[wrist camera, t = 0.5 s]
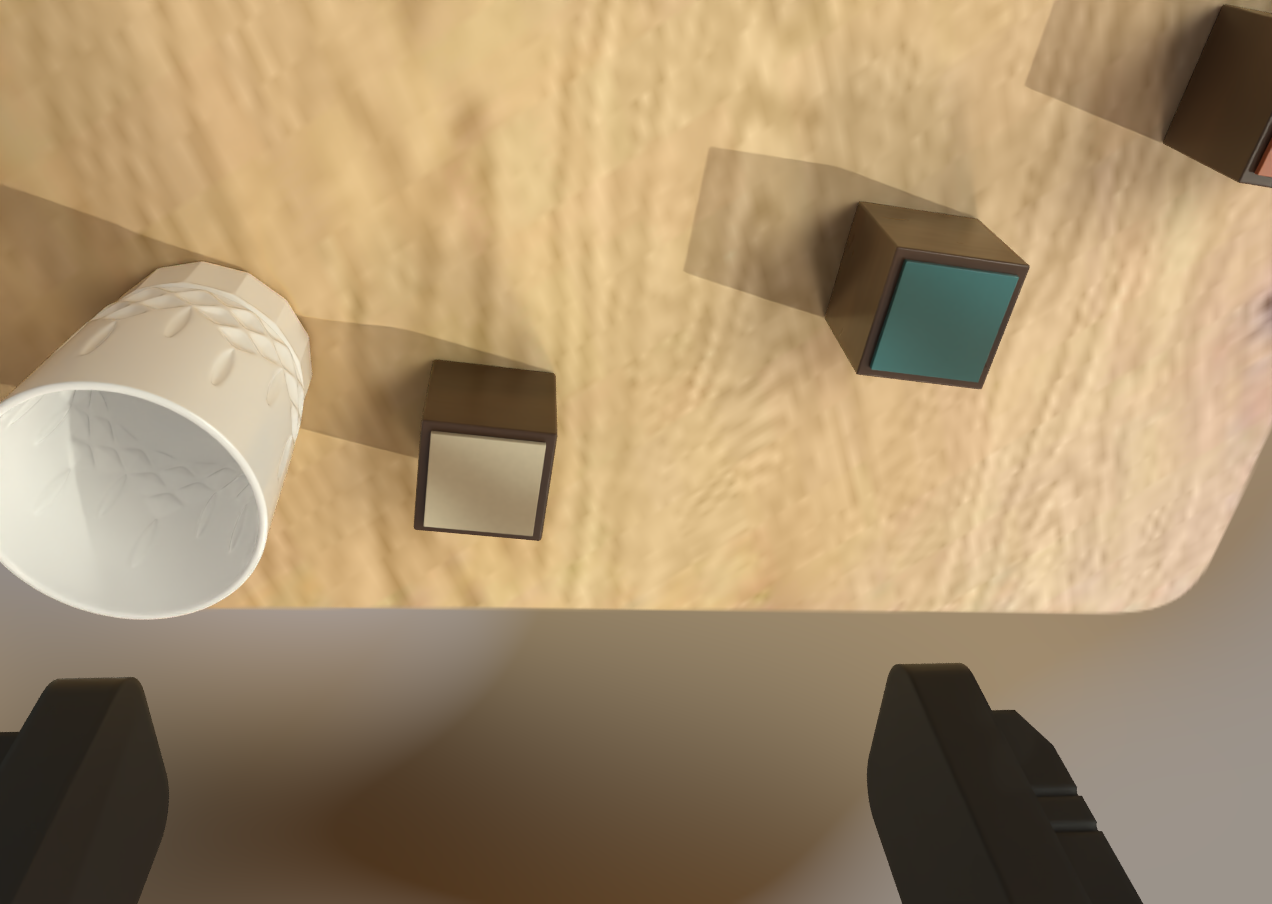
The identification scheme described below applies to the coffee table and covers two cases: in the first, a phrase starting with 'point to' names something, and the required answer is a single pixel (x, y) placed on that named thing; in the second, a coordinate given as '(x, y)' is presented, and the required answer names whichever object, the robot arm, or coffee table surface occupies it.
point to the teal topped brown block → (923, 295)
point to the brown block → (486, 451)
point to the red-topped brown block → (1230, 100)
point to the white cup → (155, 446)
